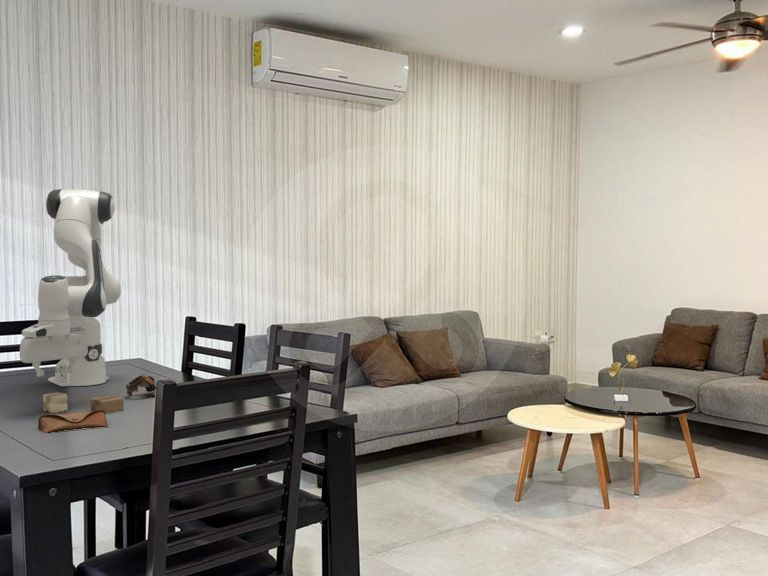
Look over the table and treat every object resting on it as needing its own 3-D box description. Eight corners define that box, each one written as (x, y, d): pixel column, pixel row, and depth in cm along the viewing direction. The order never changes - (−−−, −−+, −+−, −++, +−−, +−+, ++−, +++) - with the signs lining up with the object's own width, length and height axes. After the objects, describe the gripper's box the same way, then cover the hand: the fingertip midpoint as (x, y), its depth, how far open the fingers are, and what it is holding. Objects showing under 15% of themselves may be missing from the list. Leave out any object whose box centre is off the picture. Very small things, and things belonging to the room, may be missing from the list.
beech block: (43, 410, 233) (43, 394, 233) (58, 408, 237) (58, 392, 236) (51, 413, 230) (51, 396, 229) (67, 410, 234) (67, 394, 233)
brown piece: (155, 401, 250) (141, 380, 248) (131, 412, 252) (118, 392, 250) (167, 385, 262) (154, 365, 260) (144, 396, 264) (131, 376, 262)
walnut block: (90, 411, 233) (90, 398, 233) (111, 407, 239) (111, 395, 238) (102, 415, 229) (102, 401, 229) (123, 411, 234) (123, 398, 234)
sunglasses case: (41, 434, 204) (39, 410, 207) (39, 442, 210) (37, 419, 212) (111, 426, 214) (108, 404, 216) (107, 434, 219) (105, 412, 222)
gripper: (80, 326, 242) (81, 369, 242) (16, 331, 226) (17, 377, 226) (91, 327, 238) (92, 371, 239) (27, 332, 222) (28, 379, 222)
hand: (55, 374), depth 232 cm, fingers open, 8 cm apart
